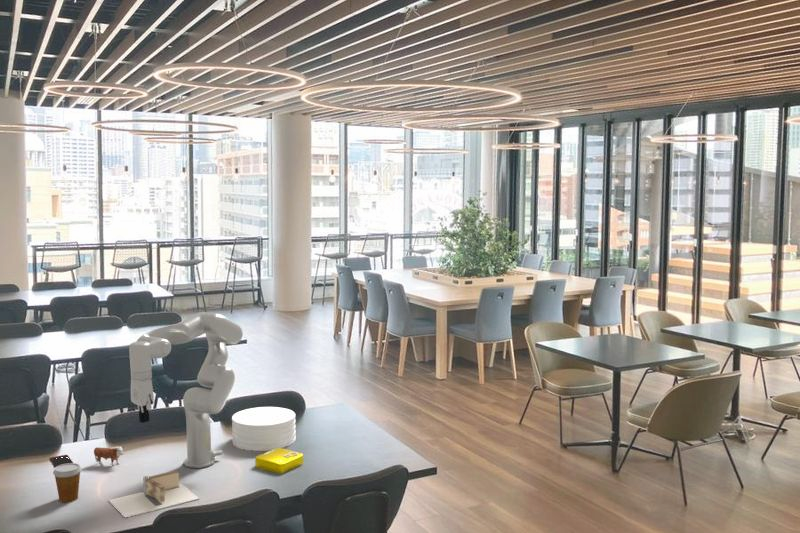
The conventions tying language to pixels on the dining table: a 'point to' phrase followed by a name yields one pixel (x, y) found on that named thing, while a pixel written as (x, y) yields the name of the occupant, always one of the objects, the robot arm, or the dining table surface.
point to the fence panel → (155, 490)
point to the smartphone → (60, 460)
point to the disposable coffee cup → (67, 481)
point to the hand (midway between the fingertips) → (144, 421)
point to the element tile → (279, 460)
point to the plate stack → (263, 428)
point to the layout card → (146, 503)
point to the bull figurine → (108, 454)
